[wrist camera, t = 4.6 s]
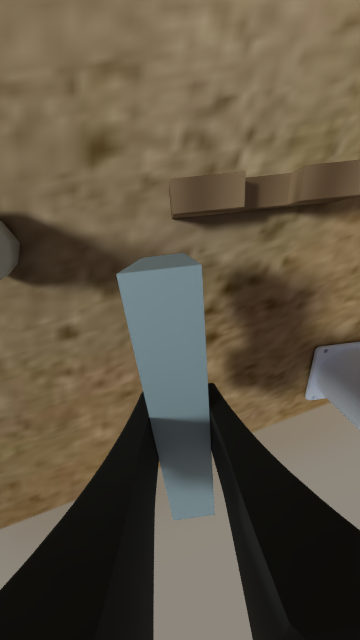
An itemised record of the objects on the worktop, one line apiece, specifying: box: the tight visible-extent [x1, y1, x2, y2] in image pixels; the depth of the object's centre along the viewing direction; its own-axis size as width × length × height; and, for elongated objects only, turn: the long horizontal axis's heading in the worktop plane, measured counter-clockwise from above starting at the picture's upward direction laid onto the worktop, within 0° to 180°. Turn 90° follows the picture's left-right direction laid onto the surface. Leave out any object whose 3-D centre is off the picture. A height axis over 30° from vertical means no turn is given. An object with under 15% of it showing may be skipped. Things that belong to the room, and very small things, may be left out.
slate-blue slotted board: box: [116, 253, 215, 520], centre depth 11 cm, size 2×14×6 cm, turn 6°
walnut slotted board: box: [169, 160, 360, 219], centre depth 14 cm, size 14×2×3 cm, turn 96°
